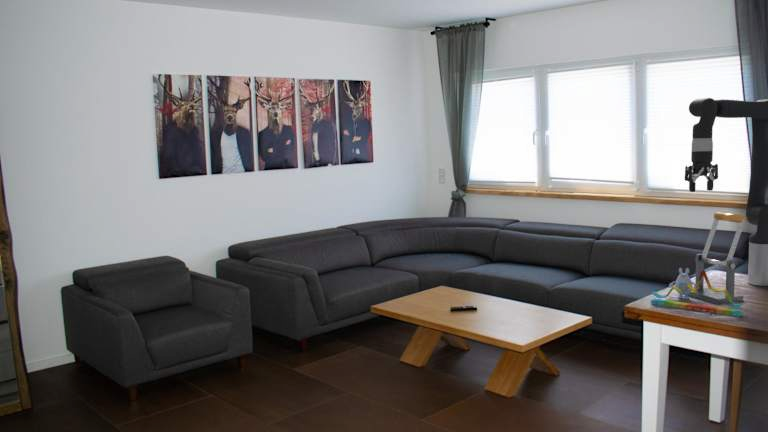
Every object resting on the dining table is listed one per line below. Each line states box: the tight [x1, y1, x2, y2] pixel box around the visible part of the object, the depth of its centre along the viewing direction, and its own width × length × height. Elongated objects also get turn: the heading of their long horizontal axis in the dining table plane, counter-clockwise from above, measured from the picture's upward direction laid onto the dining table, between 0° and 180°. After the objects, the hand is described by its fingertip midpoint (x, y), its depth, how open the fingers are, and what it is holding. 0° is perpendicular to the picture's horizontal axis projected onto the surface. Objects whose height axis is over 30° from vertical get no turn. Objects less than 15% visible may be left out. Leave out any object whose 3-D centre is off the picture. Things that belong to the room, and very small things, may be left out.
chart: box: [650, 269, 743, 318], centre depth 247 cm, size 30×3×15 cm, turn 48°
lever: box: [700, 211, 748, 268], centre depth 261 cm, size 3×13×20 cm, turn 20°
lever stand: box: [687, 253, 744, 305], centre depth 262 cm, size 12×18×16 cm
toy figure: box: [668, 267, 699, 300], centre depth 263 cm, size 11×6×12 cm, turn 63°
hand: (701, 191), depth 270 cm, fingers open, 8 cm apart
